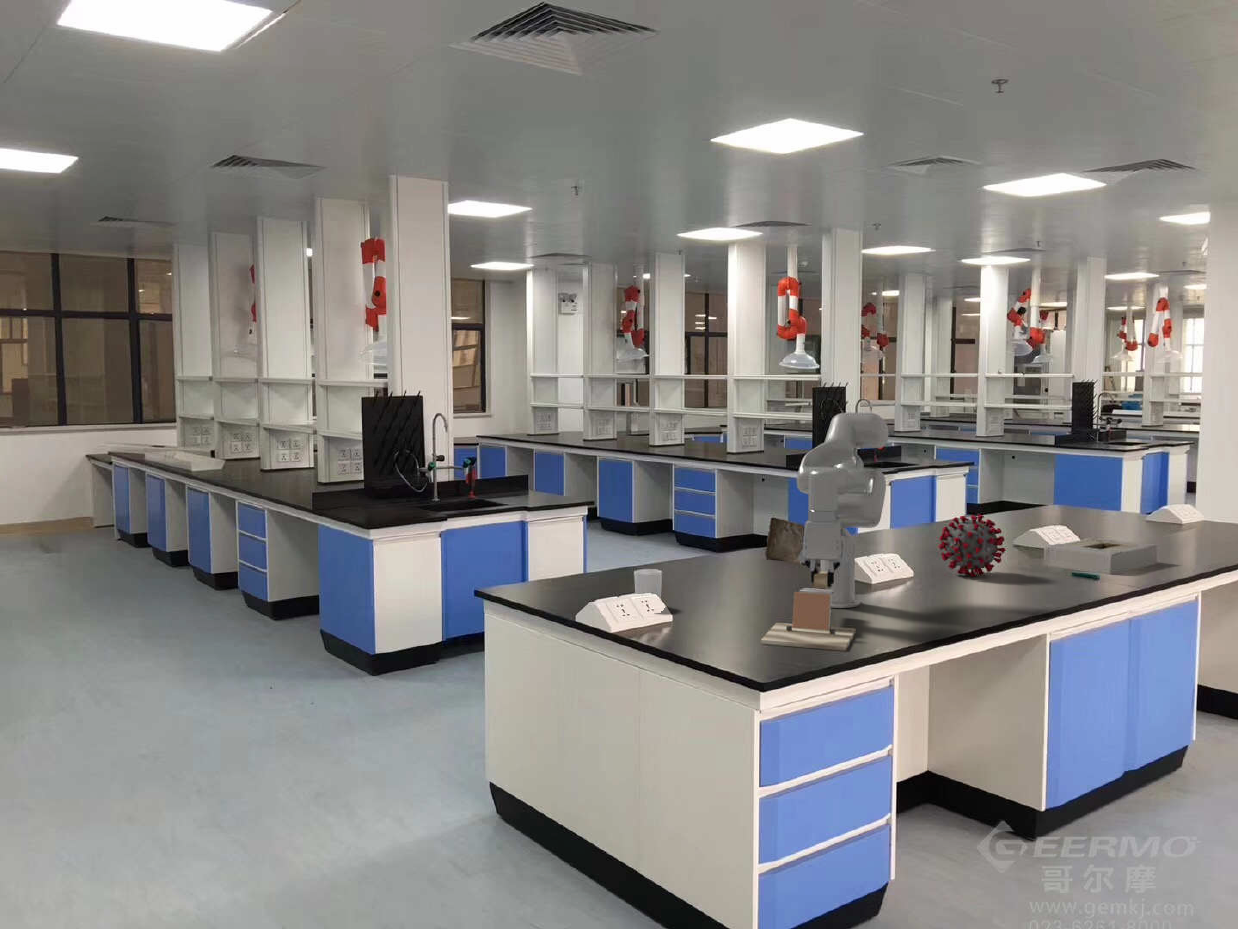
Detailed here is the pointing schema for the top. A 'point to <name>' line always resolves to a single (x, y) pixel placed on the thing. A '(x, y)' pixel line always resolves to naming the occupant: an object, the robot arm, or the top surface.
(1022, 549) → the top surface
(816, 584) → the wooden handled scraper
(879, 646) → the top surface
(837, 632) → the board
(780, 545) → the mineral sample
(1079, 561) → the box
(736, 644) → the top surface
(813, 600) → the tile
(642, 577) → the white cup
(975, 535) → the virus model
